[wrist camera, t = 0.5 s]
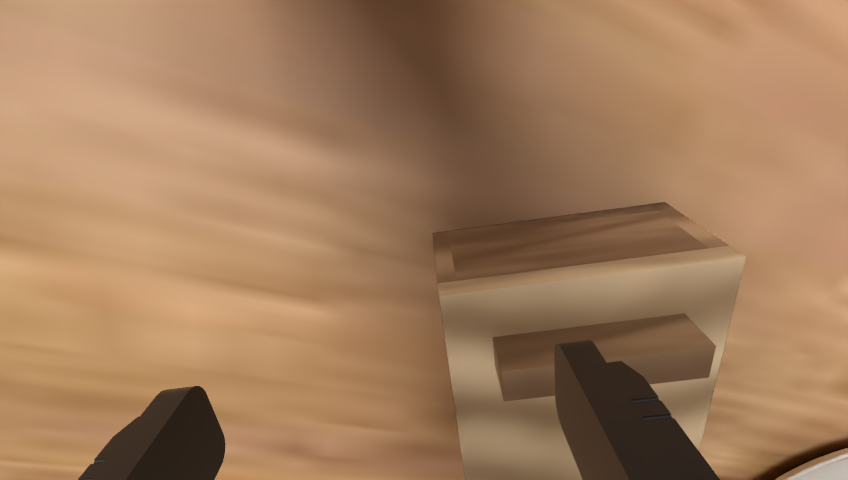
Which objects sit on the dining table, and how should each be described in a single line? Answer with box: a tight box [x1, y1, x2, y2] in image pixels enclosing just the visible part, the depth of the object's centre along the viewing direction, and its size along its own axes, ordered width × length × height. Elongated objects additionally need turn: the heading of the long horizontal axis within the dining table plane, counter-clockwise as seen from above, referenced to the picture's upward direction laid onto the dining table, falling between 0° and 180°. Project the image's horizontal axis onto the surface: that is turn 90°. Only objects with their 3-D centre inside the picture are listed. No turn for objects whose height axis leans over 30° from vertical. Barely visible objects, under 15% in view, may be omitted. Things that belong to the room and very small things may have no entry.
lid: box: [438, 246, 746, 480], centre depth 24 cm, size 18×15×4 cm
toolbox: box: [432, 202, 728, 283], centre depth 30 cm, size 24×15×6 cm, turn 8°
